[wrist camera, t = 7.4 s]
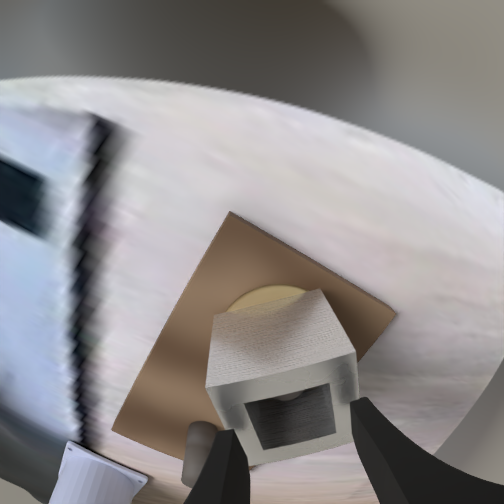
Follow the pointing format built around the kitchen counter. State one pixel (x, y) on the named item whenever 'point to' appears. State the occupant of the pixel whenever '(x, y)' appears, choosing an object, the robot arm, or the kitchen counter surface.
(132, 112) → the kitchen counter surface
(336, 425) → the collar
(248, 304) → the board
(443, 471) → the robot arm
